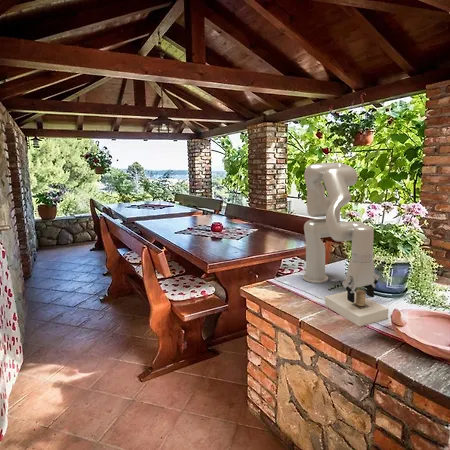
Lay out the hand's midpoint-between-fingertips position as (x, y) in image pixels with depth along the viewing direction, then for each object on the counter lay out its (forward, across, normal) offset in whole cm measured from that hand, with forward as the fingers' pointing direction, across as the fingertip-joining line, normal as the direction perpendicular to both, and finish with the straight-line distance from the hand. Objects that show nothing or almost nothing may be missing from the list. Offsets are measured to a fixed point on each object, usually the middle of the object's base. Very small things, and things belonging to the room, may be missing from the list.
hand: (360, 298), depth 127 cm
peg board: (+7, 0, -3) cm, 7 cm away
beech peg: (+7, 0, 0) cm, 7 cm away
